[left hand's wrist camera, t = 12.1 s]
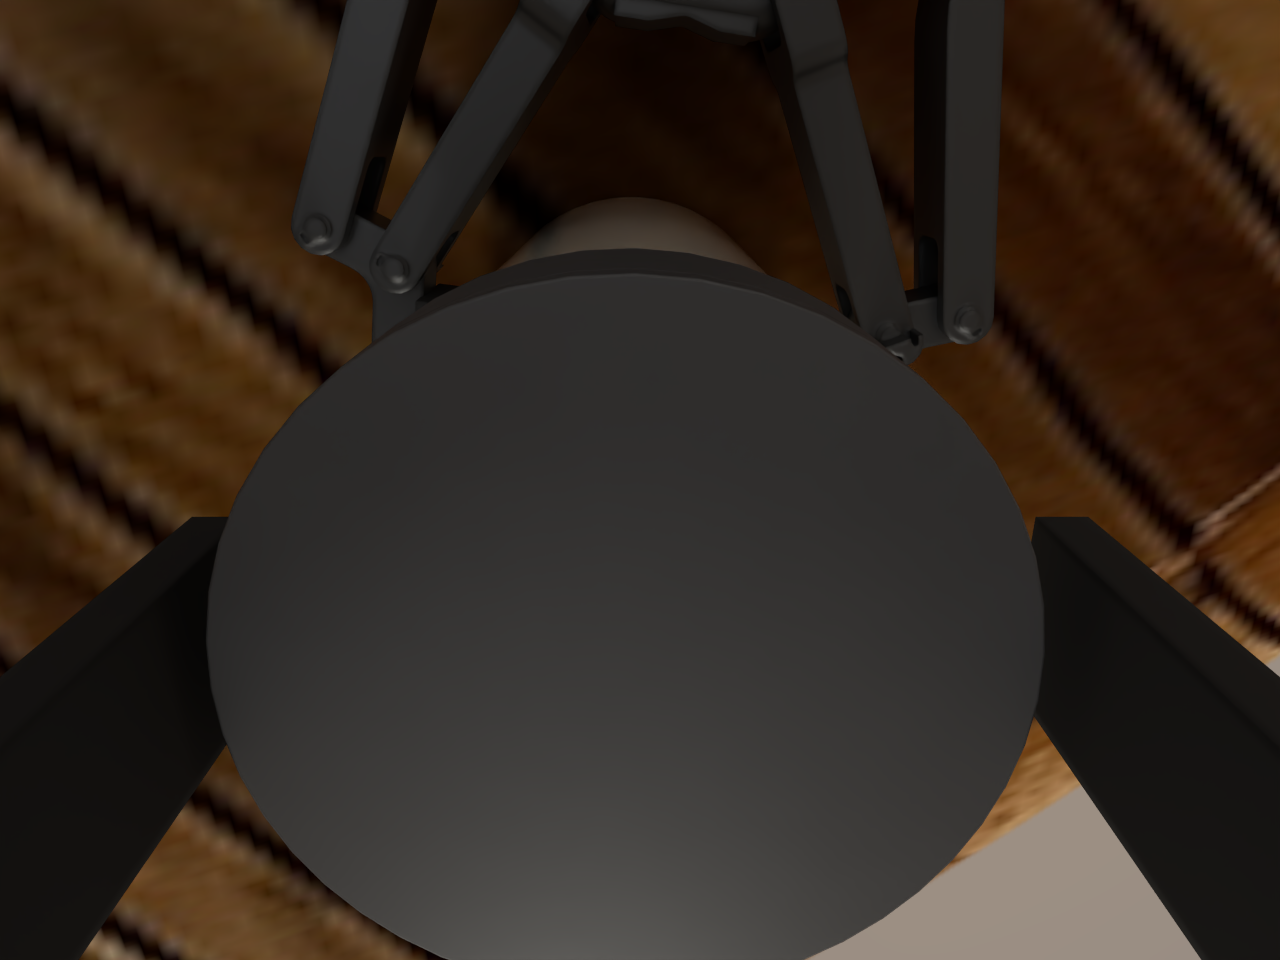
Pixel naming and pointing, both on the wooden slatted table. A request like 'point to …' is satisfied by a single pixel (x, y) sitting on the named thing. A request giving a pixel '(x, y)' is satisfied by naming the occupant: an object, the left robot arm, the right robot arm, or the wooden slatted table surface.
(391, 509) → the lid
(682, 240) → the jar
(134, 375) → the wooden slatted table surface
